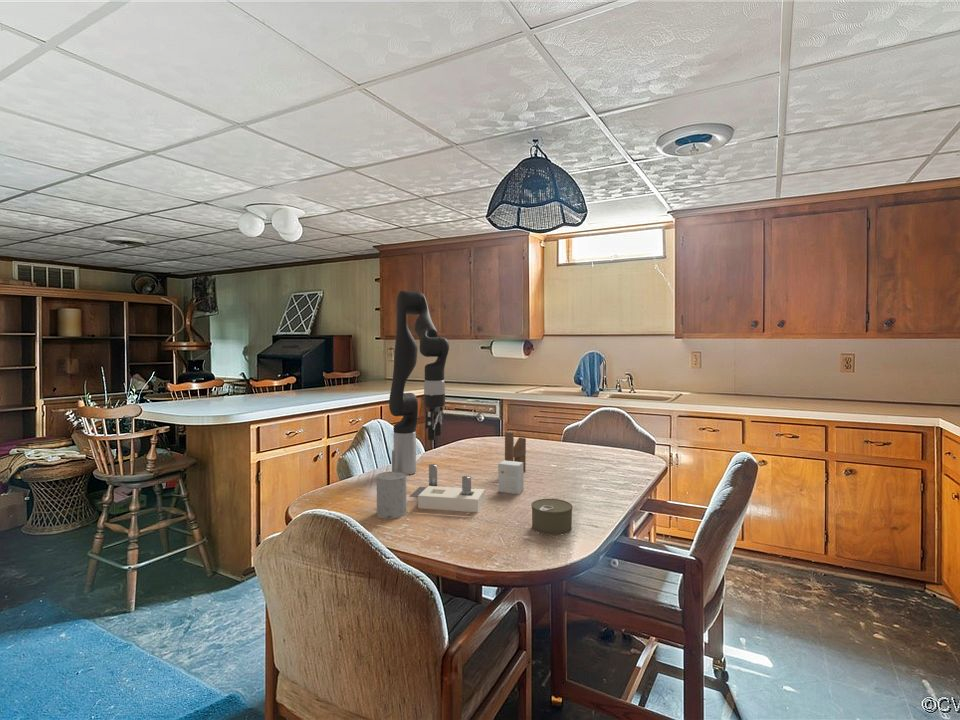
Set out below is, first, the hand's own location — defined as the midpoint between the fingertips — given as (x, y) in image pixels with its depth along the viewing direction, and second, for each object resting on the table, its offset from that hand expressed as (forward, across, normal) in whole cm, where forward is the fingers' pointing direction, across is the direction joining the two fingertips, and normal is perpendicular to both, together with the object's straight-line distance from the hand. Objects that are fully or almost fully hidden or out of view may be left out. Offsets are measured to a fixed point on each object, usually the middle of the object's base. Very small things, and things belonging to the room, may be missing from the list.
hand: (434, 437), depth 178 cm
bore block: (+20, +12, +9) cm, 25 cm away
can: (+21, +25, +43) cm, 54 cm away
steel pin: (+20, 0, -1) cm, 20 cm away
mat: (+20, 0, -1) cm, 20 cm away
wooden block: (+20, -32, +25) cm, 46 cm away
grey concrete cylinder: (+20, +22, -8) cm, 31 cm away
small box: (+21, -8, +26) cm, 35 cm away
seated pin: (+20, +12, +14) cm, 27 cm away
